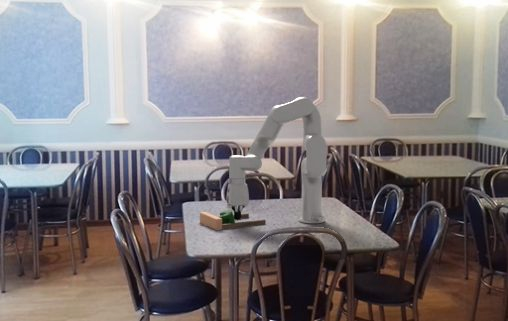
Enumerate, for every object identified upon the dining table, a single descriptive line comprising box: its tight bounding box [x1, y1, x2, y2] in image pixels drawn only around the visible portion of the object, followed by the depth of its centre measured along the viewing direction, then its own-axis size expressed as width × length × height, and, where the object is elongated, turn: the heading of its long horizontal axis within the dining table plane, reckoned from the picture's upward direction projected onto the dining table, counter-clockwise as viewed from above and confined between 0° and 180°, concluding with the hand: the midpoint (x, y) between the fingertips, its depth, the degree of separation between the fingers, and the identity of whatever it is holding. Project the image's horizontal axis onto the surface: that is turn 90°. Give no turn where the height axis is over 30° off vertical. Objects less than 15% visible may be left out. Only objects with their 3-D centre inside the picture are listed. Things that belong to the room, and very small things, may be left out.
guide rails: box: [218, 212, 267, 230], centre depth 290 cm, size 18×22×2 cm
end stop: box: [199, 211, 223, 231], centre depth 284 cm, size 18×3×5 cm, turn 29°
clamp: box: [219, 208, 236, 224], centre depth 288 cm, size 12×6×9 cm, turn 178°
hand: (237, 219), depth 291 cm, fingers closed
